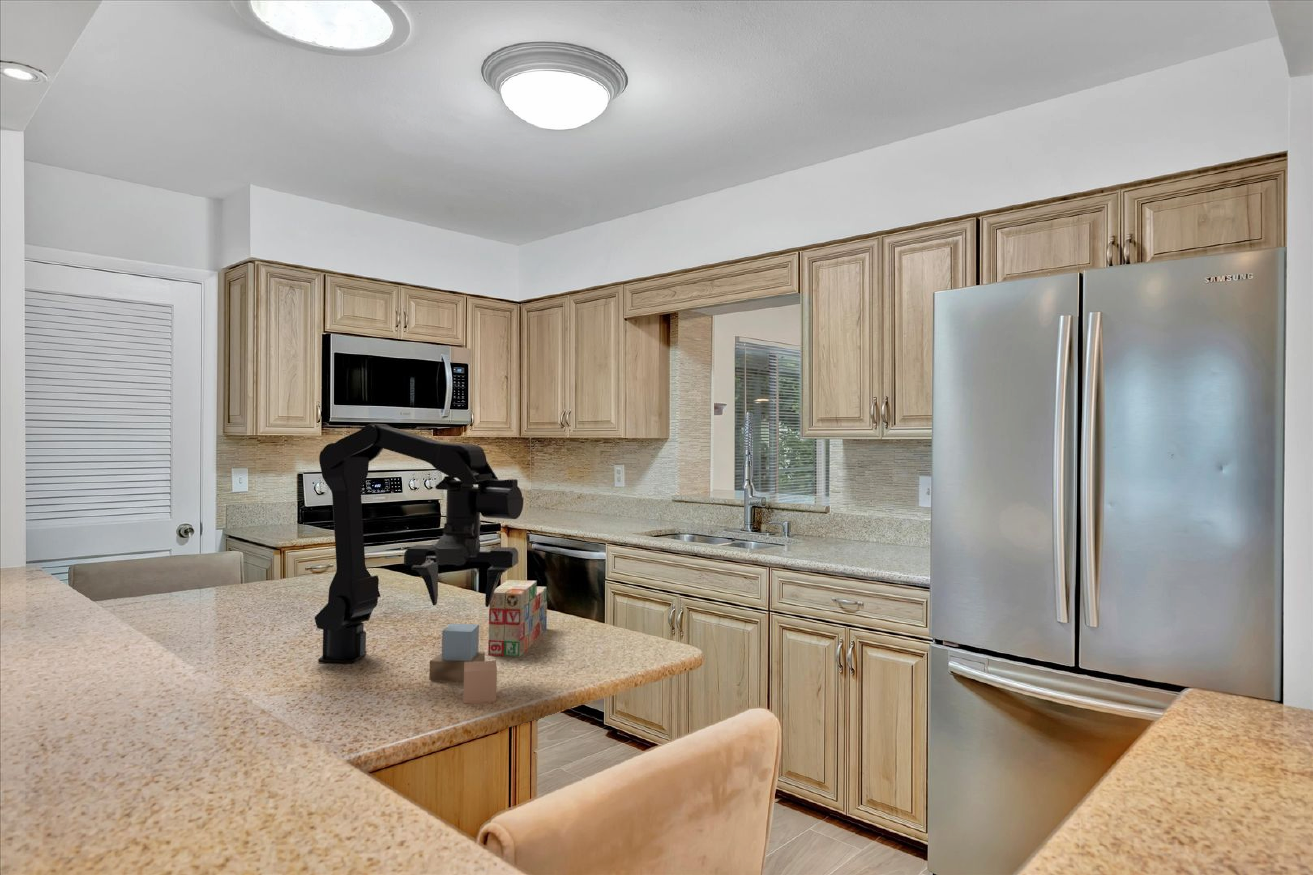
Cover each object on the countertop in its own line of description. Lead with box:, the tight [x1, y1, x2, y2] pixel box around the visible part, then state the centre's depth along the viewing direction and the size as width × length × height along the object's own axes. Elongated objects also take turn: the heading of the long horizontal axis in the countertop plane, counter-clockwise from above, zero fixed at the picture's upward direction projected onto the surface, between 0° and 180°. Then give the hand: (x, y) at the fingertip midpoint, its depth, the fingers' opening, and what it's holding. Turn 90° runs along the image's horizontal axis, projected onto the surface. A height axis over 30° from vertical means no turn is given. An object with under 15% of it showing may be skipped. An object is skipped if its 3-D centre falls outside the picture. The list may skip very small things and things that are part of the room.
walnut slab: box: [429, 651, 486, 683], centre depth 131 cm, size 7×7×4 cm
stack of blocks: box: [487, 579, 548, 658], centre depth 153 cm, size 21×6×12 cm, turn 175°
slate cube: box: [441, 623, 480, 661], centre depth 131 cm, size 5×5×5 cm
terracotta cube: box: [462, 660, 498, 704], centre depth 120 cm, size 5×5×5 cm
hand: (461, 605), depth 131 cm, fingers open, 9 cm apart
